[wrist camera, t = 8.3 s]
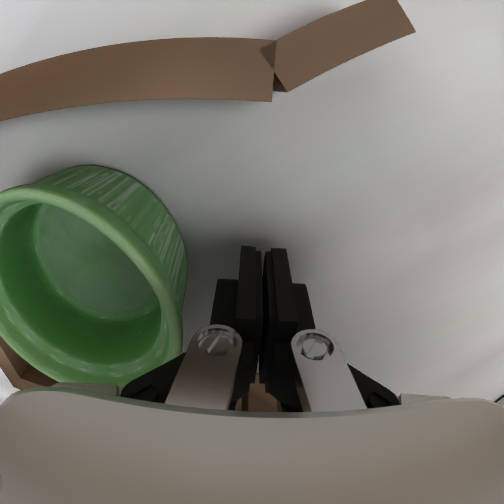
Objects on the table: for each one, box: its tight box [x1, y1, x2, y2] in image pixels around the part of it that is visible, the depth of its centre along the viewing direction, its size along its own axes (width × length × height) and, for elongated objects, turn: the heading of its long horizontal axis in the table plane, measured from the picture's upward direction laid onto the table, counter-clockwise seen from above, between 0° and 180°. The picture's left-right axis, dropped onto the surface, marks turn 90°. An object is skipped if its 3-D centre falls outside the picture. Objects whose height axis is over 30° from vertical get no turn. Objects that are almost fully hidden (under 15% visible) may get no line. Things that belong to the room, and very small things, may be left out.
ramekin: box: [0, 165, 187, 386], centre depth 11 cm, size 9×9×4 cm
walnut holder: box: [0, 0, 416, 412], centre depth 11 cm, size 20×17×4 cm
